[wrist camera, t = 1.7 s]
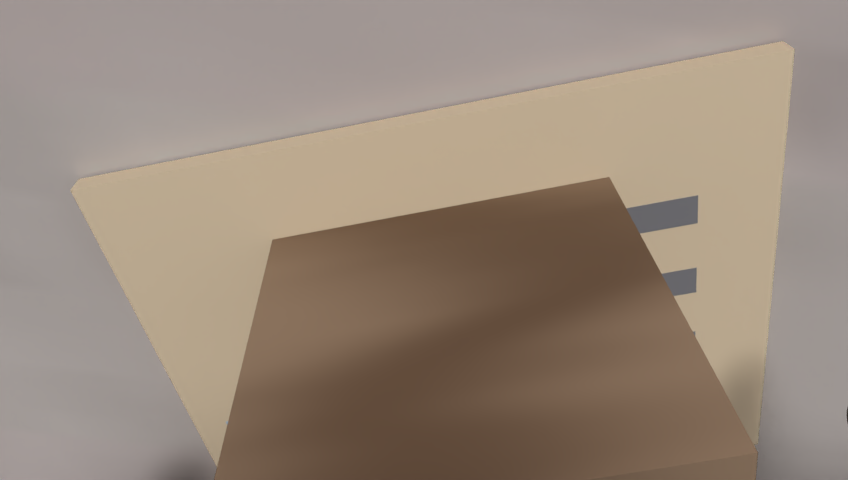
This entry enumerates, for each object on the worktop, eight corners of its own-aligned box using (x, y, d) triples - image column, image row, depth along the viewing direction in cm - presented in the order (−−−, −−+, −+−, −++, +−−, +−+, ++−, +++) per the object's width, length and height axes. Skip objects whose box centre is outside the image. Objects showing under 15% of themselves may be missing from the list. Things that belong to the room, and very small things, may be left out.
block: (609, 177, 9) (757, 452, 6) (623, 415, 12) (732, 719, 8) (272, 240, 10) (198, 540, 6) (353, 460, 12) (339, 772, 8)
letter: (782, 41, 9) (795, 49, 9) (750, 430, 13) (757, 445, 12) (78, 178, 9) (69, 190, 9) (250, 510, 13) (247, 525, 13)
